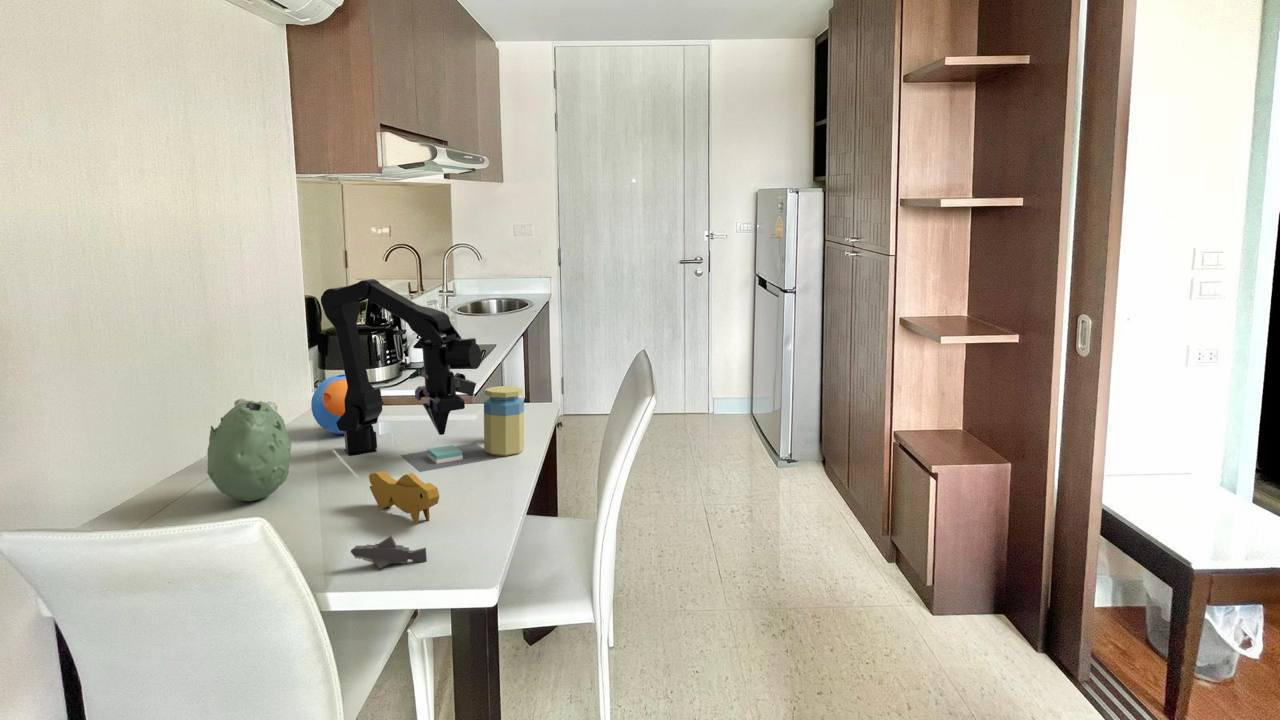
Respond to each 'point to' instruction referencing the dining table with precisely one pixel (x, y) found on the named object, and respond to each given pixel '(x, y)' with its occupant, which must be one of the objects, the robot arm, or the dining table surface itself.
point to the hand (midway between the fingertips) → (441, 434)
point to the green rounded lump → (249, 451)
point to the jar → (503, 421)
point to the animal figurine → (388, 553)
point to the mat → (469, 456)
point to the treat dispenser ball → (330, 402)
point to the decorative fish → (404, 493)
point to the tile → (445, 454)
